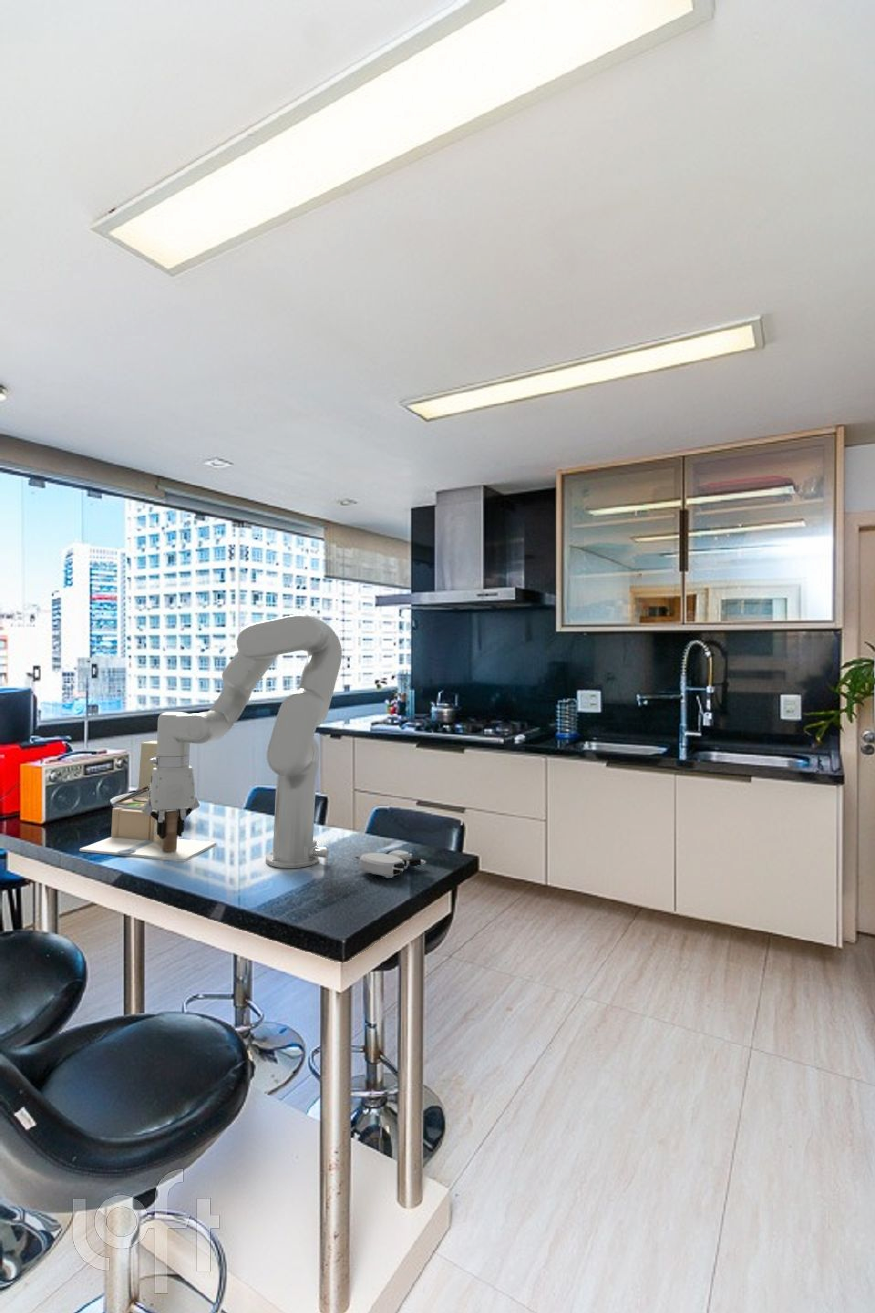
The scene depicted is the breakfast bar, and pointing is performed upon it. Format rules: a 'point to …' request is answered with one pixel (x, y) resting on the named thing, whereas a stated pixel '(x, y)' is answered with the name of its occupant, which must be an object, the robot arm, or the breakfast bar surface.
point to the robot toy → (387, 862)
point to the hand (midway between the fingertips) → (170, 835)
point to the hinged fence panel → (168, 831)
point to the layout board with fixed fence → (142, 839)
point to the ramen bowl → (132, 800)
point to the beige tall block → (147, 763)
